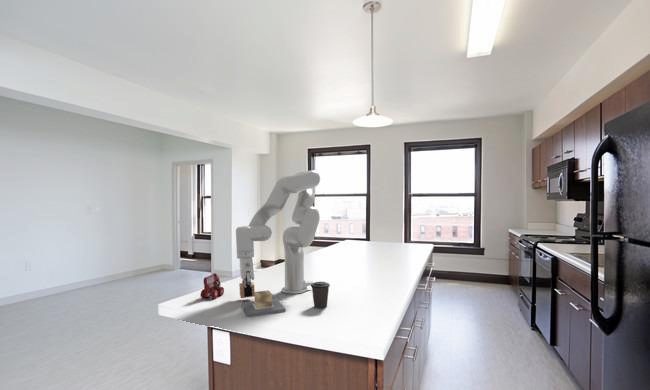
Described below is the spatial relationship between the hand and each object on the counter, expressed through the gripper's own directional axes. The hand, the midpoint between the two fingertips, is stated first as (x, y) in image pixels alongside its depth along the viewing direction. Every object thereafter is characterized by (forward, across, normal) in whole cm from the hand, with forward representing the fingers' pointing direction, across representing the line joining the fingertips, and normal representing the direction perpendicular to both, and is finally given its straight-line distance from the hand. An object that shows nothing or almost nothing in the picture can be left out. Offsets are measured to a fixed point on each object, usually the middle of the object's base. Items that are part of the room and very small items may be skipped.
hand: (247, 293), depth 141 cm
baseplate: (+3, -14, -4) cm, 15 cm away
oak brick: (+2, -14, -4) cm, 14 cm away
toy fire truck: (+3, +13, +14) cm, 19 cm away
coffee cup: (+4, -21, -27) cm, 35 cm away
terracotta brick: (+1, 0, 0) cm, 1 cm away
